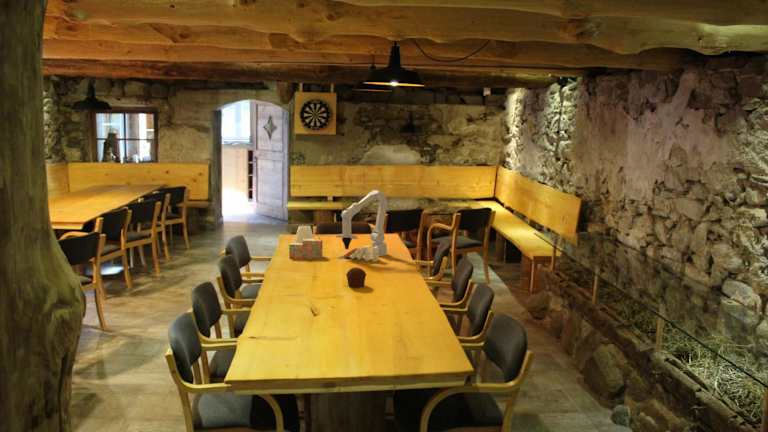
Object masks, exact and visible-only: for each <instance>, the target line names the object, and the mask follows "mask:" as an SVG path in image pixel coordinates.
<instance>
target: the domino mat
mask: <svg viewBox="0 0 768 432" xmlns="http://www.w3.org/2000/svg"><path fill="white" fill-rule="evenodd" d="M357 258H358V256H357V257H356V258H354V259H352V258H351V255H350V256H349V257H347V258H344V255H341V256H339V257H337V259H339V260H340V259H341V260H349V261H356V262H360V261H361V262H369V263H374V262H373V258H371V259H370V260H368V261H365V257H363V259H361V260H359V259H357ZM379 261H380V259H379V258H378V261H376V262H375V263H378V262H379Z"/></svg>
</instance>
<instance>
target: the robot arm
mask: <svg viewBox="0 0 768 432" xmlns="http://www.w3.org/2000/svg"><path fill="white" fill-rule="evenodd" d="M386 197H387V196H386V194H385V192H384V191H382V190H381V191H380V190H377V189H373V190H372V191H370V192H369V193H368V194H367V195H365V196H364V197H363V198H362V199H361V200H360V201H359V202H358V203H357V202H355V203H352V204H351V206H349V207H347V208H346V209H345V210H343V211H342V212H341V214H340V217H341V218H342V233H341V234H340V233H339V234H338V233H337V234H335V235H336V239H337V238H341V241H342V243H343V245H344V249H345V250H349V248H350V244H351V242H352V241H353V239H354V240H357V239H358V235H355V234H354V235H353V234H352V219H353V217H354V216H355V215H357V213H359V212H360V211H361V210H362V209H361V208H362V207H364V206H365V205H367V204H368V203H369V202H371V201H374V202H377V204H378V208H377V214H376V220H375V226H374V228H373V229H372V231H371V234H370V239H371V256H373V247H375V246H378V257H382V256H388V254H387V251H388V250H387V247H388V246H387V243H386V242H385V230H384V225H385V224H384V223H385V220H386V212H387V207H388V201H387V198H386Z"/></svg>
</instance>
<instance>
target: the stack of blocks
mask: <svg viewBox="0 0 768 432" xmlns="http://www.w3.org/2000/svg"><path fill="white" fill-rule="evenodd" d="M288 249H289V251H288V255H289V256H288V257H289V259H309V260H310V259H312V260H313V259H315V260H318V259H321V258H323V238H314V239H303V243H296V242H290V243H289V244H288Z"/></svg>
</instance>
